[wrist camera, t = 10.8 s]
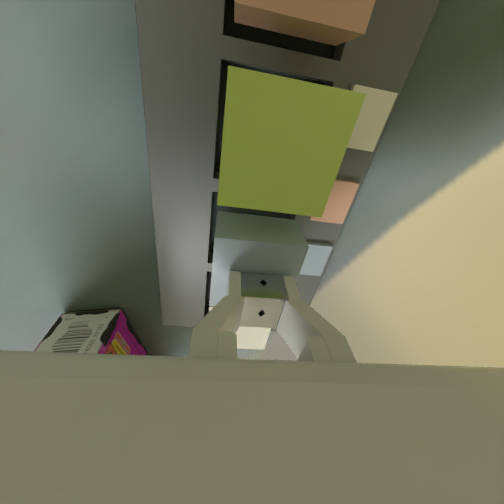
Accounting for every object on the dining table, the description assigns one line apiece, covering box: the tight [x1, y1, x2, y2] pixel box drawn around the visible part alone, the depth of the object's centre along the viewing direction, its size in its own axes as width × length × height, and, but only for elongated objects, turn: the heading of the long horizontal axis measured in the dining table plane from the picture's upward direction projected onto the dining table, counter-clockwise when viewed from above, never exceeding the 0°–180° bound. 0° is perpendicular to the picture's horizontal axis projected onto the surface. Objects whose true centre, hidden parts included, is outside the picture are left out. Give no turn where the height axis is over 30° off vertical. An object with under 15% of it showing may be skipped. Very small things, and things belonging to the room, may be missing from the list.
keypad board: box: [135, 0, 441, 331], centre depth 13 cm, size 23×11×2 cm, turn 171°
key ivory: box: [209, 306, 271, 349], centre depth 16 cm, size 4×4×4 cm
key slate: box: [209, 211, 309, 306], centre depth 12 cm, size 4×4×4 cm
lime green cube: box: [217, 65, 366, 218], centre depth 9 cm, size 4×4×4 cm
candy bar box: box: [34, 309, 148, 355], centre depth 15 cm, size 11×5×16 cm, turn 4°
